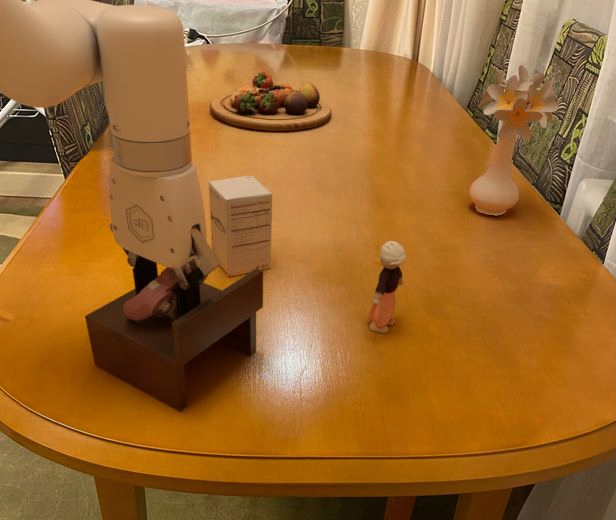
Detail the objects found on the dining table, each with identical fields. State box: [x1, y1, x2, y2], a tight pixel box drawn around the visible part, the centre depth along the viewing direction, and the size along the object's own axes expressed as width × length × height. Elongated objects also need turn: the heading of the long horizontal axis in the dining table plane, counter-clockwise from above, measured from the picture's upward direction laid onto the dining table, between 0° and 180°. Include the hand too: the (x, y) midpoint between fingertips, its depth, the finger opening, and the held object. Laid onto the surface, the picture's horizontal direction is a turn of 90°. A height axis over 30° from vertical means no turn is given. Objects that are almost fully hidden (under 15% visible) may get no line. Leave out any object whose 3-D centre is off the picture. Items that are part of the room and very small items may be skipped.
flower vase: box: [468, 64, 559, 214], centre depth 109 cm, size 13×18×25 cm
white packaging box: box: [208, 175, 273, 277], centre depth 92 cm, size 7×7×13 cm
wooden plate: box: [209, 71, 332, 132], centre depth 158 cm, size 32×32×8 cm
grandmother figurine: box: [367, 240, 407, 334], centre depth 80 cm, size 8×4×13 cm, turn 159°
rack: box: [84, 269, 264, 412], centre depth 72 cm, size 15×14×12 cm
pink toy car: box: [123, 263, 209, 321], centre depth 70 cm, size 10×5×7 cm, turn 148°
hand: (168, 301), depth 71 cm, fingers closed on pink toy car, 5 cm apart
